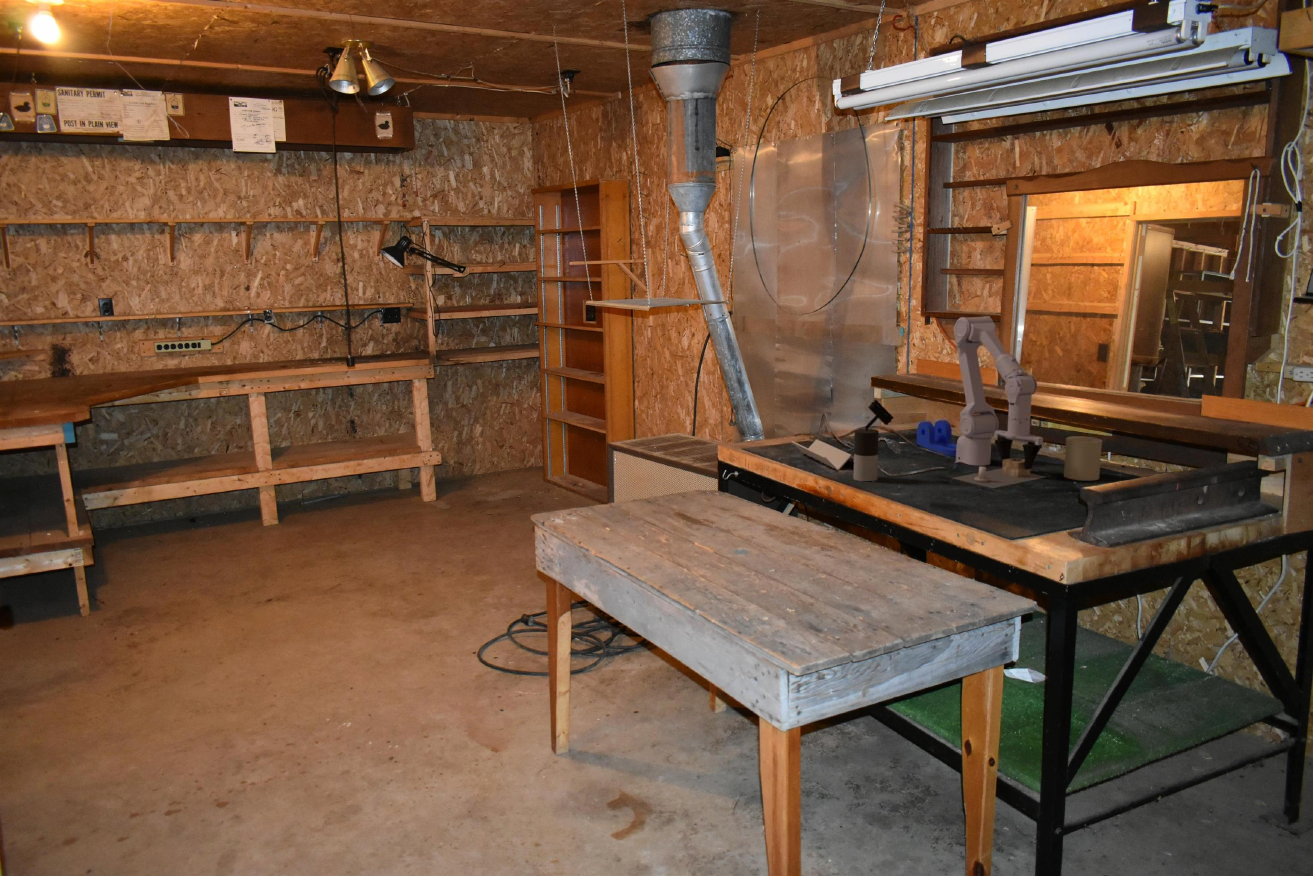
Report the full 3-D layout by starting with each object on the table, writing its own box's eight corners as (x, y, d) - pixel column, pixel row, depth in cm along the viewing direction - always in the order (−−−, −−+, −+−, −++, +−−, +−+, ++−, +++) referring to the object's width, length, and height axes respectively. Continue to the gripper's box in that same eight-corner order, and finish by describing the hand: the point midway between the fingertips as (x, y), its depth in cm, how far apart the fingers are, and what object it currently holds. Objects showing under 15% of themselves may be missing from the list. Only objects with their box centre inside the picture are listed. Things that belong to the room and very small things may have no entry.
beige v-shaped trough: (816, 466, 297) (829, 451, 298) (850, 483, 274) (864, 468, 274) (791, 441, 294) (804, 427, 294) (824, 457, 270) (838, 441, 270)
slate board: (951, 481, 256) (952, 464, 255) (1004, 471, 267) (1005, 454, 266) (992, 491, 244) (993, 474, 243) (1046, 480, 255) (1047, 463, 254)
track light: (869, 492, 258) (918, 440, 258) (829, 453, 254) (879, 400, 253) (860, 487, 264) (908, 436, 264) (821, 448, 260) (870, 396, 260)
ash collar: (1002, 473, 260) (1002, 459, 259) (1014, 471, 262) (1015, 457, 261) (1017, 477, 255) (1018, 463, 254) (1029, 474, 258) (1030, 460, 257)
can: (1078, 485, 249) (1081, 441, 247) (1055, 477, 258) (1058, 435, 256) (1107, 482, 252) (1110, 439, 249) (1083, 475, 260) (1086, 433, 258)
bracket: (916, 447, 303) (917, 420, 302) (938, 445, 306) (939, 418, 304) (949, 457, 286) (950, 429, 285) (972, 455, 289) (973, 427, 287)
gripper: (988, 416, 260) (985, 463, 262) (1032, 423, 247) (1029, 472, 250) (1004, 414, 263) (1002, 460, 266) (1049, 420, 251) (1046, 469, 253)
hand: (1016, 466), depth 258 cm, fingers open, 7 cm apart
